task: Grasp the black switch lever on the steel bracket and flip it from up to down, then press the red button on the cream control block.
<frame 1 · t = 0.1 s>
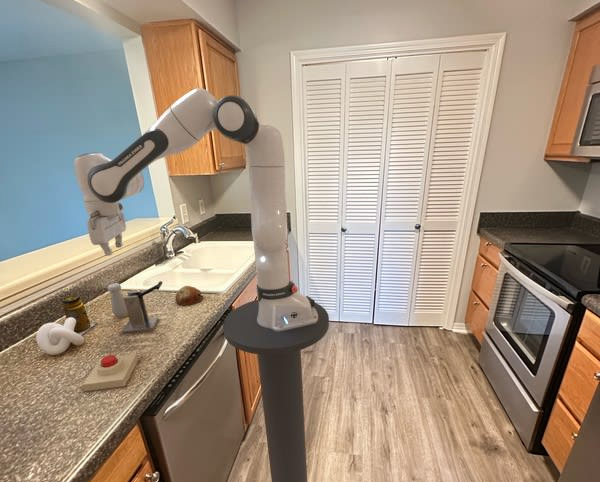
hand: (114, 250, 107), 27 cm above the countertop, tool pointing down, fingers open, 8 cm apart
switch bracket: (141, 326, 115), on the countertop
salt shaker: (122, 316, 124), on the countertop
switch: (145, 292, 111), point 13 cm above the countertop, hinge at 24.0°
condiment: (79, 330, 115), on the countertop
white knot: (68, 348, 105), on the countertop
button block: (113, 374, 91), on the countertop
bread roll: (190, 300, 134), on the countertop
button: (109, 361, 89), point 4 cm above the countertop, slide at 0.1 cm
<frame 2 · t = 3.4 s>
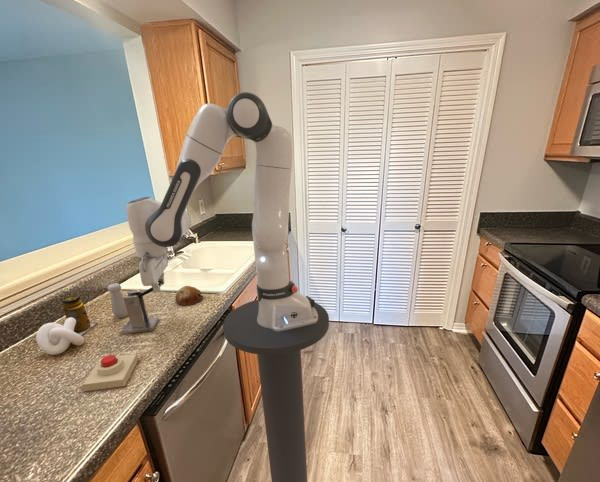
hand: (159, 287, 111), 14 cm above the countertop, tool pointing down, fingers closed on switch, 5 cm apart
switch: (145, 292, 111), point 13 cm above the countertop, hinge at 24.0°, touching gripper
everything else where it was.
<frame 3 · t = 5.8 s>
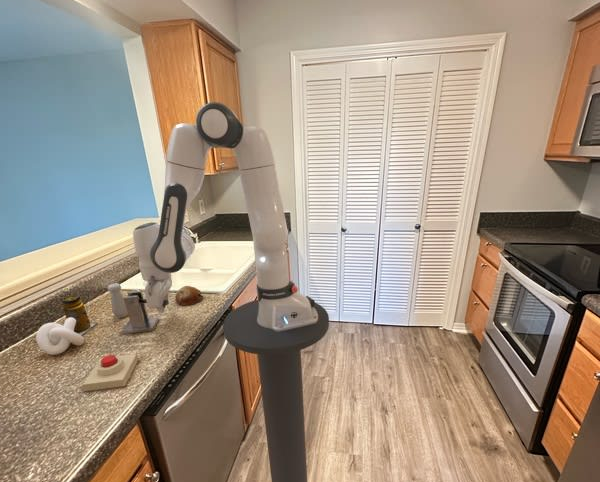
hand: (164, 308, 114), 6 cm above the countertop, tool pointing down, fingers closed on switch, 5 cm apart
switch: (148, 301, 112), point 9 cm above the countertop, hinge at -20.2°, touching gripper
everything else where it was.
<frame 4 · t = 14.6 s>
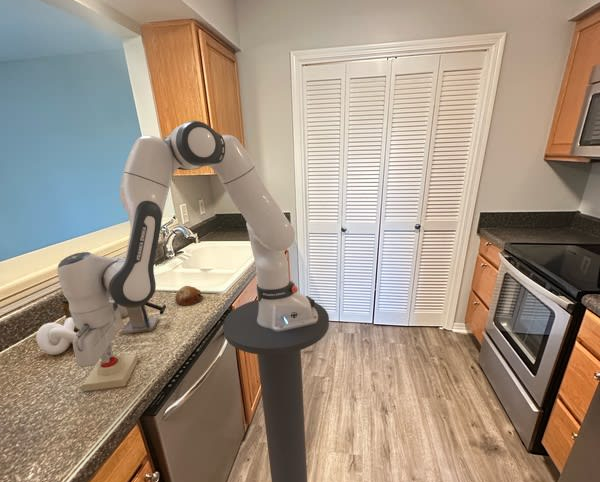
hand: (108, 360, 89), 5 cm above the countertop, tool pointing down, fingers closed, pressing on button
switch: (147, 303, 112), point 9 cm above the countertop, hinge at -30.7°
button: (109, 362, 89), point 4 cm above the countertop, slide at -0.4 cm, touching gripper
everything else where it was.
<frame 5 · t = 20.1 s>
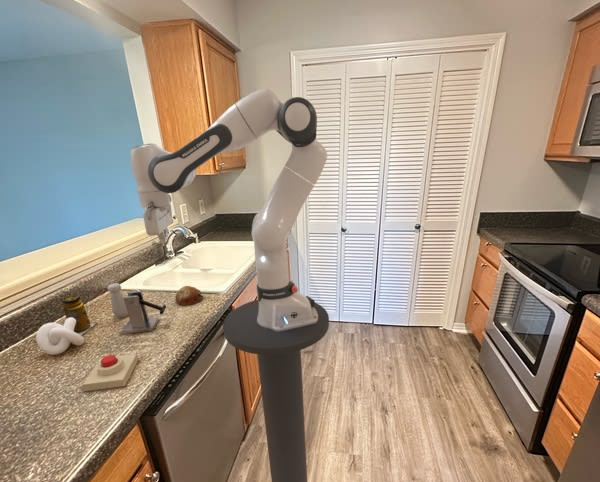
hand: (164, 242, 108), 29 cm above the countertop, tool pointing down, fingers closed
button: (109, 361, 89), point 4 cm above the countertop, slide at 0.1 cm
everything else where it was.
at the end: switch at -31° (first picture: +24°); button pushed in 1.0 cm at the most during the clip, back to where it started at the end; button slide at 0.1 cm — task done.
